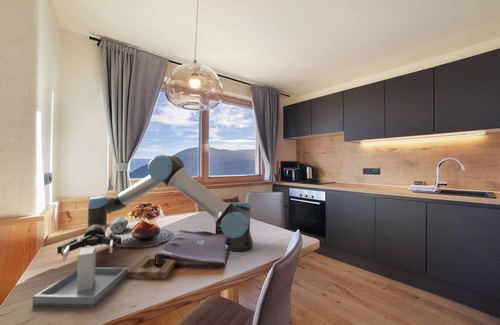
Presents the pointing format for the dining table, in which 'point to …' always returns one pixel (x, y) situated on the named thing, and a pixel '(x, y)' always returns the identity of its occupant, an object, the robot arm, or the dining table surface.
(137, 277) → the socket block
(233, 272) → the dining table surface
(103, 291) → the parts tray
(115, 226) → the grey-green mottled ovoid
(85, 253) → the skincare box
